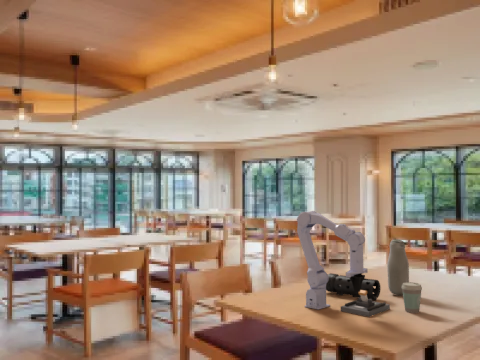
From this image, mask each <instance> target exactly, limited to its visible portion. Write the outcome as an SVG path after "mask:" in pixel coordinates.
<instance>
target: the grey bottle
mask: <svg viewBox="0 0 480 360" xmlns="http://www.w3.org/2000/svg"><path fill="white" fill-rule="evenodd" d="M386 265H387V267H386V269H387V286H388V290H389V292H390V293H391V294H392V295H395V296H403V291H402V285H403V283H406V282H410V265H409V259H408V256H407V252H406V244H405V242H404V240H401V239H392V240H391V241H390V242H389V254H388V257H387V263H386Z"/></svg>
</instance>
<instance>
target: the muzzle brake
mask: <svg viewBox="0 0 480 360" xmlns="http://www.w3.org/2000/svg"><path fill="white" fill-rule="evenodd" d="M327 275H328V277H329V280H328V282H327V283H326V292H328V293H333V294H334V293H336V294H335V295H337V296H338V295H339V296H344V295H346V296H347V295H348V296H352V298H354V297H355V298H356V297H357V299H358V298H360V297H361V296H360V295H359V293H358V292H355V291H354V288H353V284H352V282H351V280H350V278H349V277H346V275H341V274H340V275H339V274H337V273H331V272H330V273H327ZM361 290H365V291H367V298H368V299H372V301H376V300H377V299H378V298H379V297H380V294H381V283H380V281H379V280H378V279H372V278H366V277H365V278H364V280H363V282H362V285H361Z"/></svg>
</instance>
